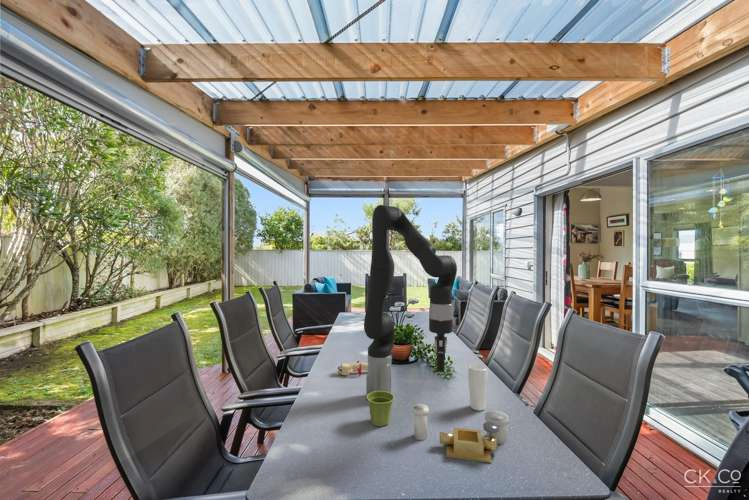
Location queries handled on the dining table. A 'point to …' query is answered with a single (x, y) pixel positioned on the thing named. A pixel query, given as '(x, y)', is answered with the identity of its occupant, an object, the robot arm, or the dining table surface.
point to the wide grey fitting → (501, 421)
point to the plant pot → (380, 407)
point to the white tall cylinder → (477, 386)
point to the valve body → (471, 443)
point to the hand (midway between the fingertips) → (440, 366)
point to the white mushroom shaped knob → (420, 421)
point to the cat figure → (352, 368)
